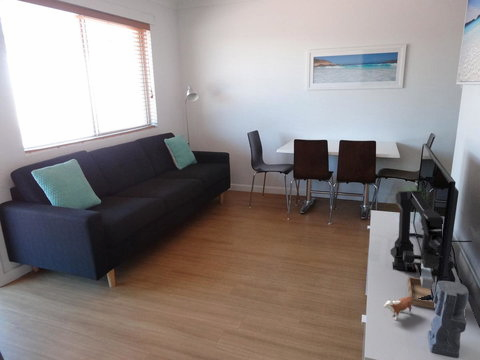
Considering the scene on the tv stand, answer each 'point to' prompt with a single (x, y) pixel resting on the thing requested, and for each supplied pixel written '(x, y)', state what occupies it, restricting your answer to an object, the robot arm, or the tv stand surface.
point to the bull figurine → (399, 306)
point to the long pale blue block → (426, 277)
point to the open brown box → (419, 293)
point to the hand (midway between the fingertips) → (425, 276)
